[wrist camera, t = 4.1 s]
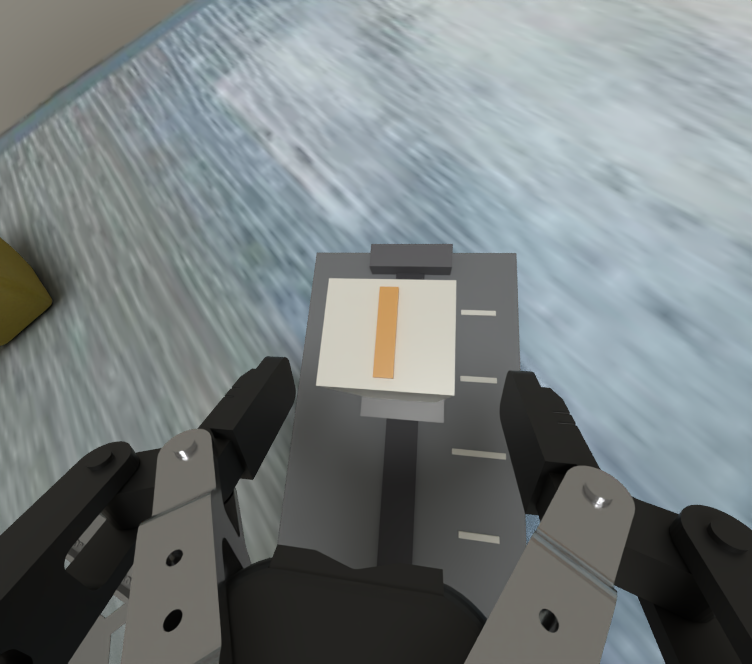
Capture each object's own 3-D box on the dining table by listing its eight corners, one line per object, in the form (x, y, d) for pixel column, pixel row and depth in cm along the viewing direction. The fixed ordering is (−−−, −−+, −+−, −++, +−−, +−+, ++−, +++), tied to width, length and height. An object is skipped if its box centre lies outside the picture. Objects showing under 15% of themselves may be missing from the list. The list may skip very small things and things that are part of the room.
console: (323, 262, 22) (310, 243, 20) (509, 264, 20) (522, 243, 18) (272, 661, 17) (245, 707, 14) (522, 716, 15) (544, 782, 12)
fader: (370, 330, 18) (315, 242, 9) (444, 333, 18) (475, 242, 8) (363, 415, 17) (290, 424, 7) (442, 422, 17) (475, 441, 7)
